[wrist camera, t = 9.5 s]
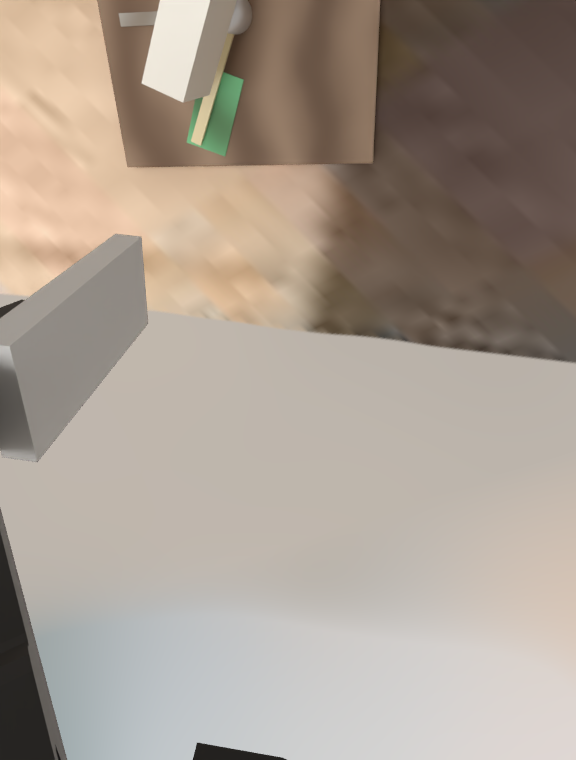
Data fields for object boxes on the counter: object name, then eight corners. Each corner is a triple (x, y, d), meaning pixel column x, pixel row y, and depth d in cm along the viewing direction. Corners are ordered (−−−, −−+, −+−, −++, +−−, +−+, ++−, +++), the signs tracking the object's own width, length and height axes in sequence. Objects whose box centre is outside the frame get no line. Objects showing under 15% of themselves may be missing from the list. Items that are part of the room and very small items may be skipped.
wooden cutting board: (387, -189, 33) (389, -204, 31) (372, 158, 43) (372, 163, 41) (80, -160, 35) (64, -172, 33) (136, 162, 46) (126, 167, 44)
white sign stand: (240, -72, 35) (187, -126, 24) (274, -55, 35) (237, -101, 24) (183, 135, 42) (123, 164, 31) (212, 148, 42) (161, 181, 31)
